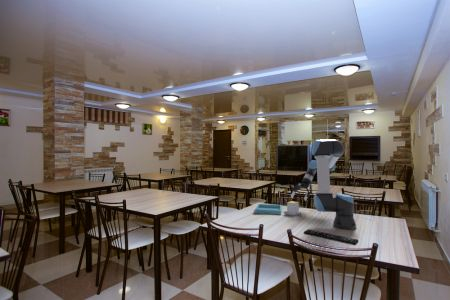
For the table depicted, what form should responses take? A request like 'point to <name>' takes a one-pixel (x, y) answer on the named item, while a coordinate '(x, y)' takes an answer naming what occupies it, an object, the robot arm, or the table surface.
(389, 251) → the table surface
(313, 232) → the black keyboard
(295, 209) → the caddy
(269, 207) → the tray
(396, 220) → the table surface
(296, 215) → the dock mat
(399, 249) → the table surface
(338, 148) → the robot arm
